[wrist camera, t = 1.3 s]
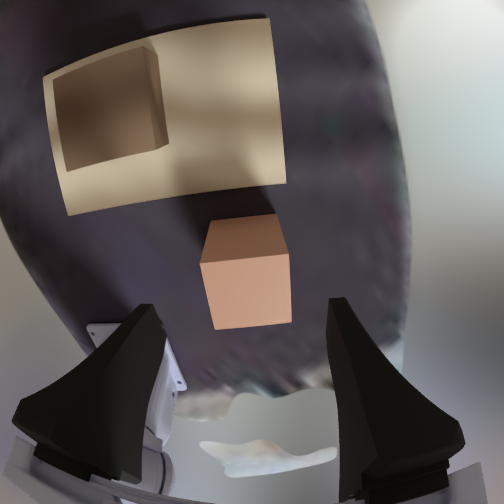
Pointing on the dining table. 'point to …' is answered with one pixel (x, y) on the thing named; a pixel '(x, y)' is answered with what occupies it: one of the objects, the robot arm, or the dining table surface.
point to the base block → (110, 109)
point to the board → (191, 120)
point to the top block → (247, 272)
